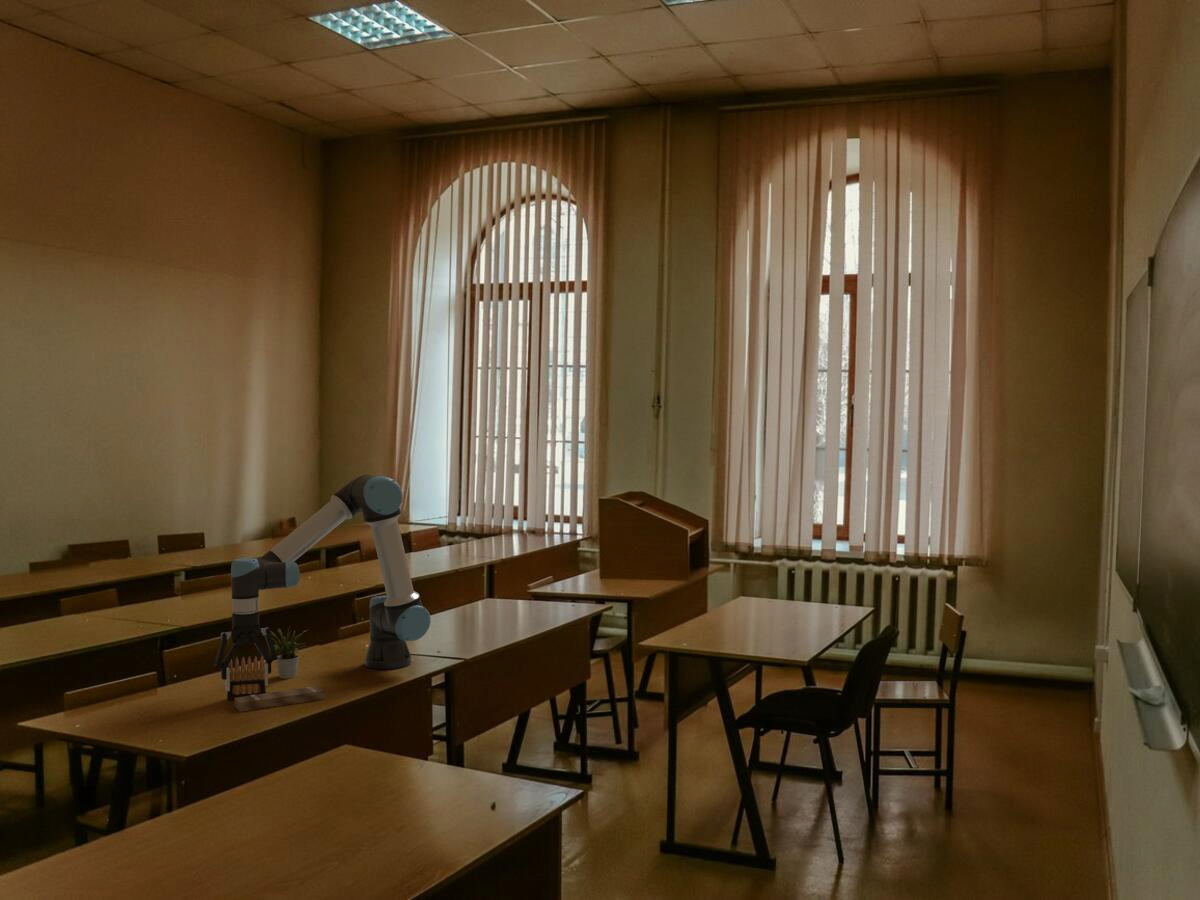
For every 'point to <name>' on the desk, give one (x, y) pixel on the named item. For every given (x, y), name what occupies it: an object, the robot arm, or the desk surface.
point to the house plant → (287, 655)
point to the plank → (279, 698)
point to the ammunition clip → (249, 685)
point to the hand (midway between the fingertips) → (246, 687)
